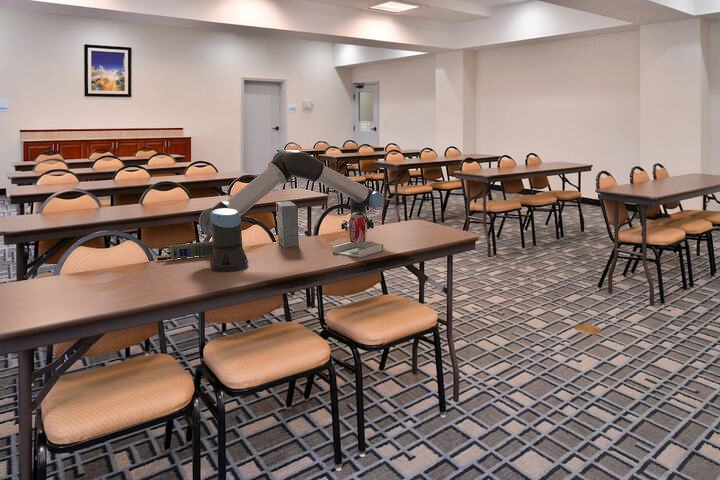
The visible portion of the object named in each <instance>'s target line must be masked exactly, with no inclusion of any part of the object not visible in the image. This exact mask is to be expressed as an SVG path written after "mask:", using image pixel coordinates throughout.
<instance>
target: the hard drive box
mask: <svg viewBox="0 0 720 480" xmlns="http://www.w3.org/2000/svg"><path fill="white" fill-rule="evenodd" d="M275 209H276V225H277V238H278V239H277V240H278V244H280V245H281V247H282V246H283V247H282V248H283V249H287V248H288V247H289V248H297V247H299V246H300V244H299V240H300V239H299V227H298V223H299V222H298V210H297V209H298V208H297V205H296V204H295V203H294V202H292V201H291V200H288V201H275Z"/></svg>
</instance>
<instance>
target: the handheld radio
mask: <svg viewBox="0 0 720 480" xmlns="http://www.w3.org/2000/svg"><path fill="white" fill-rule="evenodd" d="M167 247H168V248H167V250H168V251H167V255H170V256H164V257H163V256H162V257H161V256H160V257H157V261H167V260H171V259H177V258H181V260H186V259H185V258H187V257H194V256H199V258H203V257H202V256H207V257H212V253H213V241H202V242H192V243H183V244H173V245H172V244H171V245H167Z"/></svg>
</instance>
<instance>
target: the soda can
mask: <svg viewBox="0 0 720 480" xmlns="http://www.w3.org/2000/svg"><path fill="white" fill-rule="evenodd" d="M348 222H349V230H350V231H349V242H352V243H353V244H361V243H364V242H366V238H367V237H366V234H367V232H365V219H364V217H363V215H352V216H351V215H350V218H349V220H348Z"/></svg>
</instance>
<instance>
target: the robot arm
mask: <svg viewBox="0 0 720 480" xmlns="http://www.w3.org/2000/svg"><path fill="white" fill-rule="evenodd" d="M294 178H300V179H305V180H308V181H311V182H312V183H320V184H322V185H324V186H326V187H328V188H331V189H332V190H335V191H336V192H339V193H341V194H343V195H345V196H347V197H348V198H349V201H350V216H352V215H363V217H364V219H365V232H366V233H367V232H368V230H370V229H372V230H373V229H374V228H375V227H374V221H373V219H372V218H371V219H368V220H367V207H369V208H373V209H376V208H377V209H378V208H380V207H382V205H383V204H384V201H385V198H384V195H383V193H381V192H380V191H377V190H373V189H371V188H369V187H367V186H365V185H364V184H361V183H359V182H358V181H356V180H354V179H352V178H349V177H347V176H345V175H343V174H342V173H341V172H338V171H336V170H333V169H332V168H330V167H328V166H326V165H325V163H324V161H321V160H319V159H318V158H316V157H314V156H312V155H311V154H310V153H307V152H305V151H302V150H294V149H283V150H280V151H278V152H277V153H275V154H274V155H273V157H272V159H271V160H270V162H268V164H267V168H266V169H265V170H264V171H262V172H261V173H260V174H259V175H257V176H256V177H255V178H254V179H252V180H251V181H250V182H249V183H247V184H246V185H245V186H243V188H241V189H240V190H238V191H237V192H236V193H235V194H234V195H233V196H231V197H230V198H228V199H227V200H226V201H219V202H218V203H217V204H215V205H214V206H213V207H209V208H206V209H204V210H203V211H202V212H201V213H200V216H199V217H198V226H199V228H200V230H201V231H202V232H203V233H204V234H205V235H206V236H208V237H211V238H212V239H211V240H212V241H213V253H212V256H210V257H211V258H210V263H209V269H210V270H211V271H212V272H213V271H214V272H221V273H222V272H234V271H240V270H243V269H246V268H247V267H249V260H248V257H247V255H246V252H245V249H244V248H243V246H244V245H243V237H242V233H243V232H242V218H241V216H242V215H243V214H245V213H246V212H248V210H250V209H251V208H252V207H254V205H256V204H257V203H258V202H260V201H261V200H262V199H263V198H265V197H266V196H267V195H268V194H269V193H271V192H272V191H273V190H274V189H275V188H276V187H278V186H280V184H281V185H286V184H287V183H288V182H289V181H291V180H292V179H294ZM340 226H341V227H340V228H341V230H345V232H347V233H348V234H350V232H349V231H350V230H349V221H348V220H347V219H346V220H345V219H343V220H342V222H341V225H340Z"/></svg>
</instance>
